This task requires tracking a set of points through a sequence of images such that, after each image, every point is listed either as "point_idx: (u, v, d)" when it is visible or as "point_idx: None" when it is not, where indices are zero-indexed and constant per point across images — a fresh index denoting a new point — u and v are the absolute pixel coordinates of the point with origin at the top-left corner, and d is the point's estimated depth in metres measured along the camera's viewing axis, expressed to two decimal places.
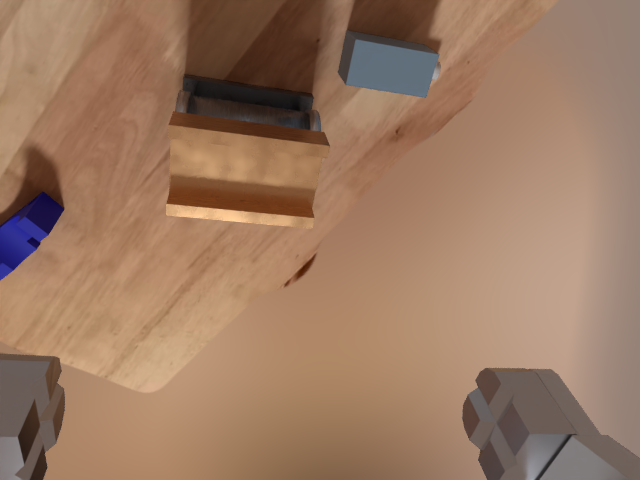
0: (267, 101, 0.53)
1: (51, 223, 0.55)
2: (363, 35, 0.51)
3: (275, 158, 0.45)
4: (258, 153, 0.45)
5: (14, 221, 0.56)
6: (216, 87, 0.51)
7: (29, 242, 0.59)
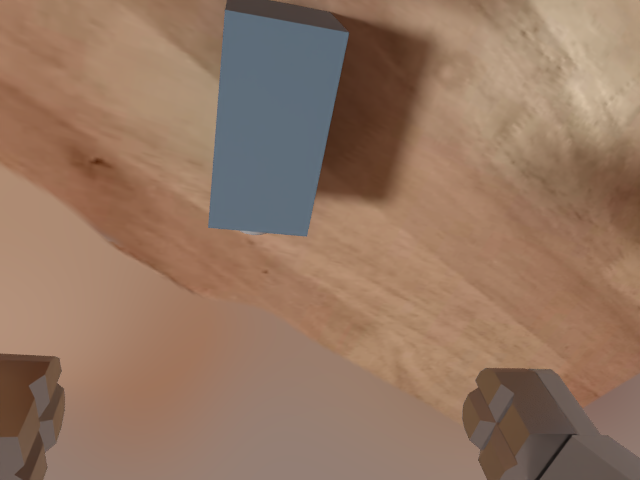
0: None
1: None
2: None
3: None
4: None
5: None
6: None
7: None
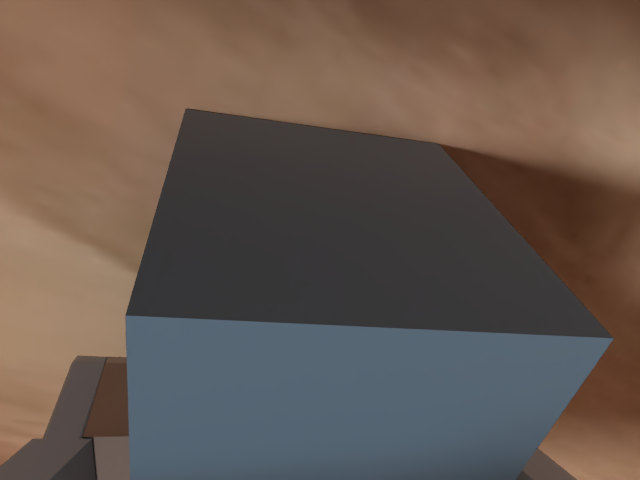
0: None
1: None
2: None
3: None
4: None
5: None
6: None
7: None
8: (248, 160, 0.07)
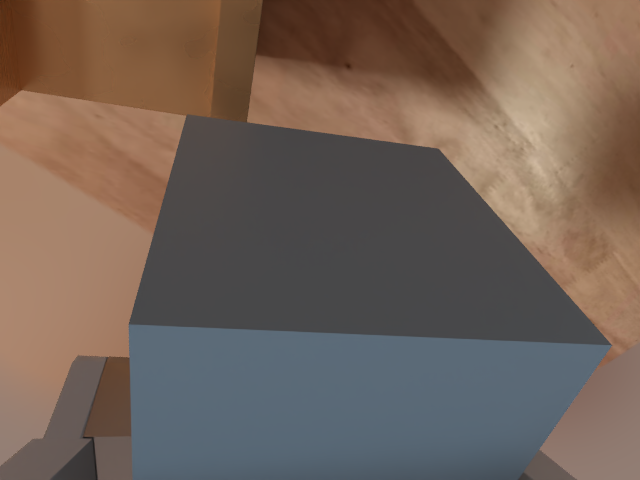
0: None
1: None
2: None
3: None
4: None
5: None
6: None
7: None
8: (249, 166, 0.07)
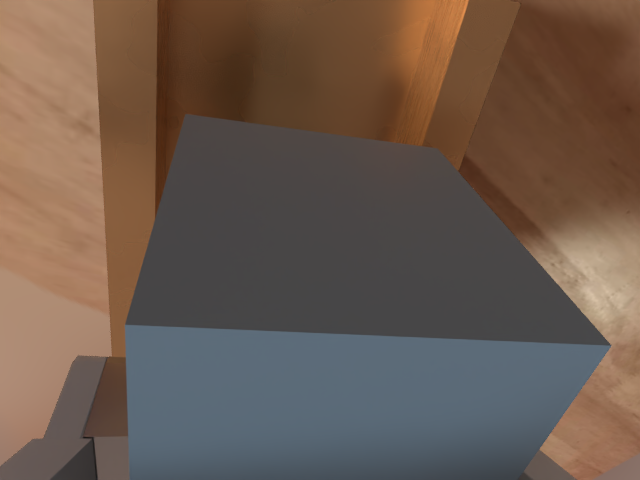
0: None
1: None
2: None
3: None
4: None
5: None
6: None
7: None
8: (247, 166, 0.07)
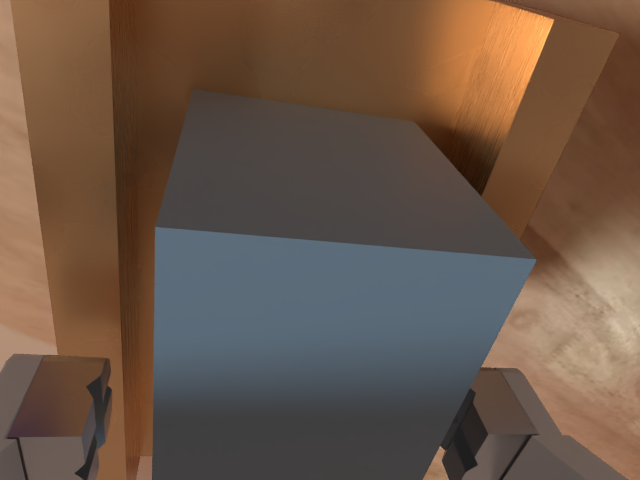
0: None
1: None
2: None
3: None
4: None
5: None
6: None
7: None
8: (247, 129, 0.08)
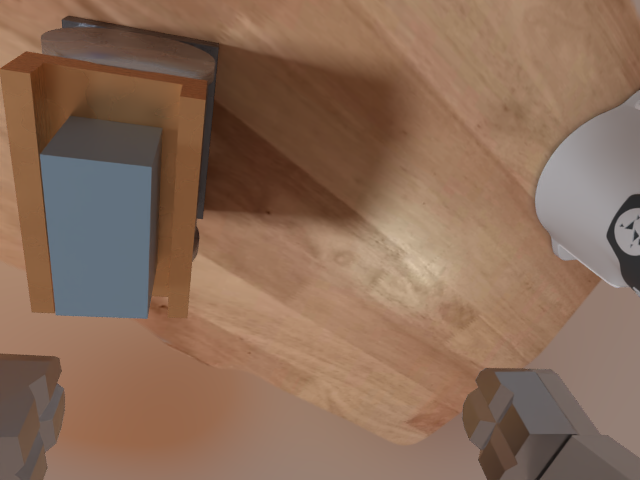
0: None
1: None
2: (158, 167, 0.25)
3: None
4: None
5: None
6: (207, 95, 0.35)
7: None
8: (83, 130, 0.23)
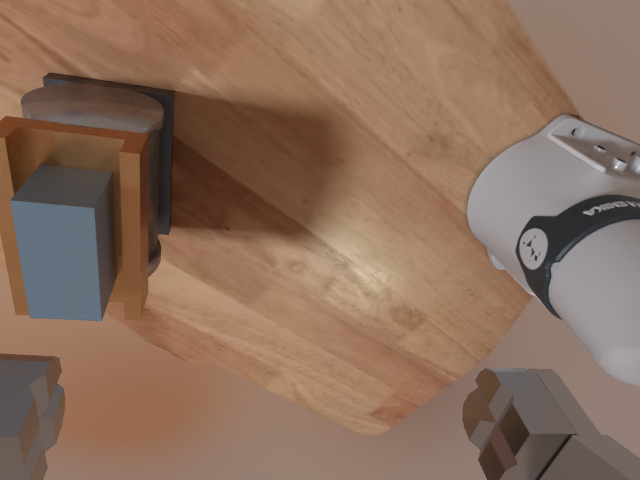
0: None
1: None
2: (108, 203, 0.32)
3: None
4: None
5: None
6: (166, 134, 0.42)
7: None
8: (47, 177, 0.30)
